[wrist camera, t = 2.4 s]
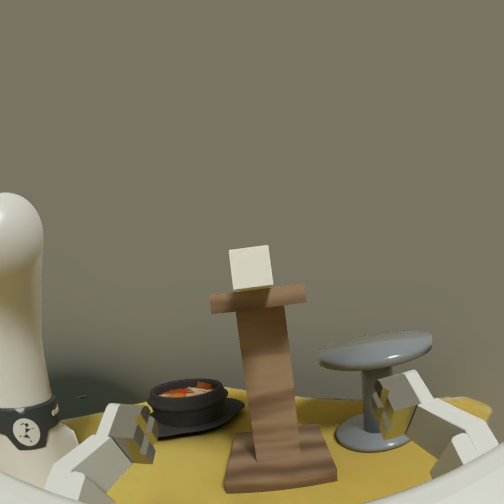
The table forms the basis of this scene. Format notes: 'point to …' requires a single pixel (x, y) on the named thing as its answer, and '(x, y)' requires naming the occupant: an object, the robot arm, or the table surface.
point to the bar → (251, 268)
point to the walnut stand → (271, 400)
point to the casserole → (191, 406)
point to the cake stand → (372, 379)
